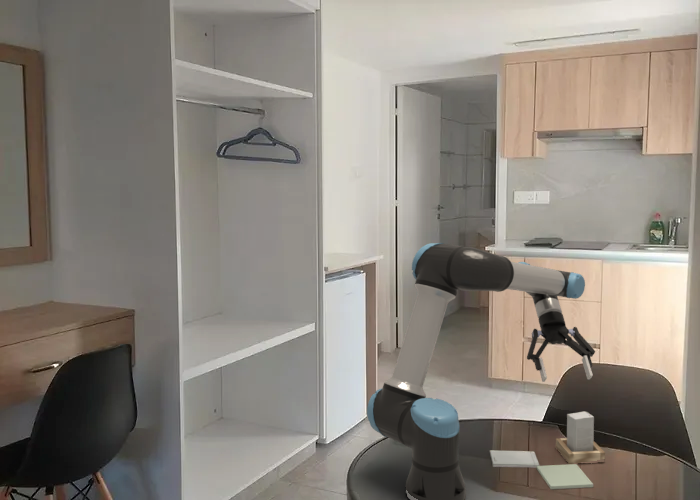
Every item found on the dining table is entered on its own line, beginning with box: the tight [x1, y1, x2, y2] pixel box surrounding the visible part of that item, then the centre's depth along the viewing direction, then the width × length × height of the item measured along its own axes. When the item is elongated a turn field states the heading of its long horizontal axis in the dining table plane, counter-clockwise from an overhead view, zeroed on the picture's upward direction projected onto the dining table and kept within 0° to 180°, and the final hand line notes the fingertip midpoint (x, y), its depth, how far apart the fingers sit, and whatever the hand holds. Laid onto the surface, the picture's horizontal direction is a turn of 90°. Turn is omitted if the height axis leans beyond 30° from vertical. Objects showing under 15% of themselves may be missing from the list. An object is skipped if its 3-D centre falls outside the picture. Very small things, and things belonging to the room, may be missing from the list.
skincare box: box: [566, 411, 595, 452], centre depth 185 cm, size 6×4×12 cm
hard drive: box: [489, 449, 540, 469], centre depth 184 cm, size 2×8×12 cm
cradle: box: [555, 437, 606, 465], centre depth 185 cm, size 10×10×3 cm
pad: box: [536, 463, 594, 490], centre depth 173 cm, size 11×11×1 cm
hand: (567, 378), depth 194 cm, fingers open, 13 cm apart
